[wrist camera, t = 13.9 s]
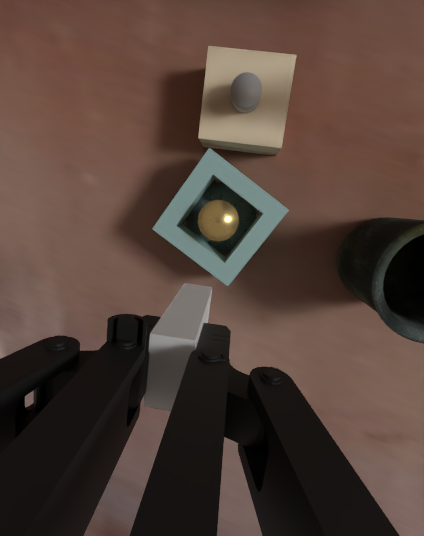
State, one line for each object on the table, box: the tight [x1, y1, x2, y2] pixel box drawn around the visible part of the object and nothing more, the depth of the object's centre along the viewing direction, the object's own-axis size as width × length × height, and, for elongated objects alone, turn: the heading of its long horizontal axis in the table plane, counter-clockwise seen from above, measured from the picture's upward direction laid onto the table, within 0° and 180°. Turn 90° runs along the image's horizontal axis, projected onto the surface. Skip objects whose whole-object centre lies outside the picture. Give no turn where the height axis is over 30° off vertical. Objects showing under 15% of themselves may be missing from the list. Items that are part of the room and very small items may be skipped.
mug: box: [338, 218, 424, 343], centre depth 32 cm, size 11×15×12 cm
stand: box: [198, 46, 296, 156], centre depth 33 cm, size 8×8×7 cm
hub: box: [186, 183, 256, 253], centre depth 35 cm, size 8×8×8 cm
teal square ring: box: [152, 148, 289, 286], centre depth 35 cm, size 10×10×4 cm
